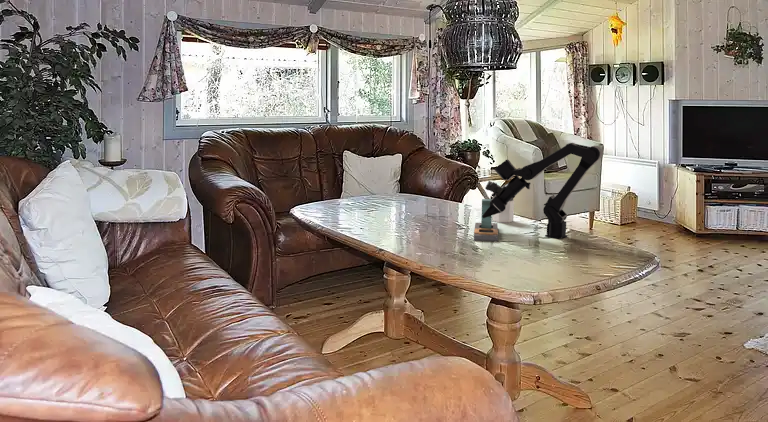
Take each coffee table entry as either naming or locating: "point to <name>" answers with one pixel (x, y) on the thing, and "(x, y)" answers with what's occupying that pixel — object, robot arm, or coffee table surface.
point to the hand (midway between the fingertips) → (483, 215)
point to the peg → (485, 205)
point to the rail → (486, 233)
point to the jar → (505, 213)
